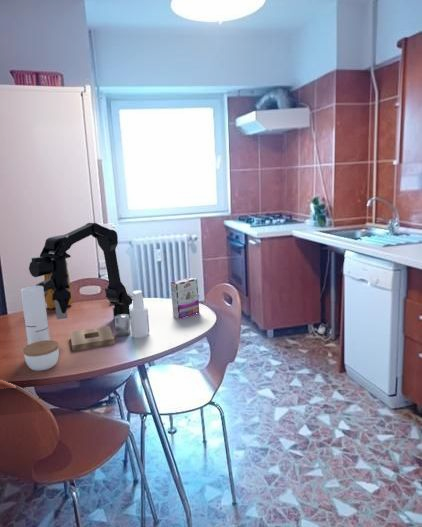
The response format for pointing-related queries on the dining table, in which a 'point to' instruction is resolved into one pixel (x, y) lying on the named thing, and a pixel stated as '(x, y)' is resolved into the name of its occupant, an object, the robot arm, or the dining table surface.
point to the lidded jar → (41, 354)
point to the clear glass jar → (122, 325)
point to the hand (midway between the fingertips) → (63, 311)
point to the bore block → (92, 338)
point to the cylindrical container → (35, 314)
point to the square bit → (59, 311)
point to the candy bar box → (185, 297)
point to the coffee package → (48, 293)
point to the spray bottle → (139, 316)
